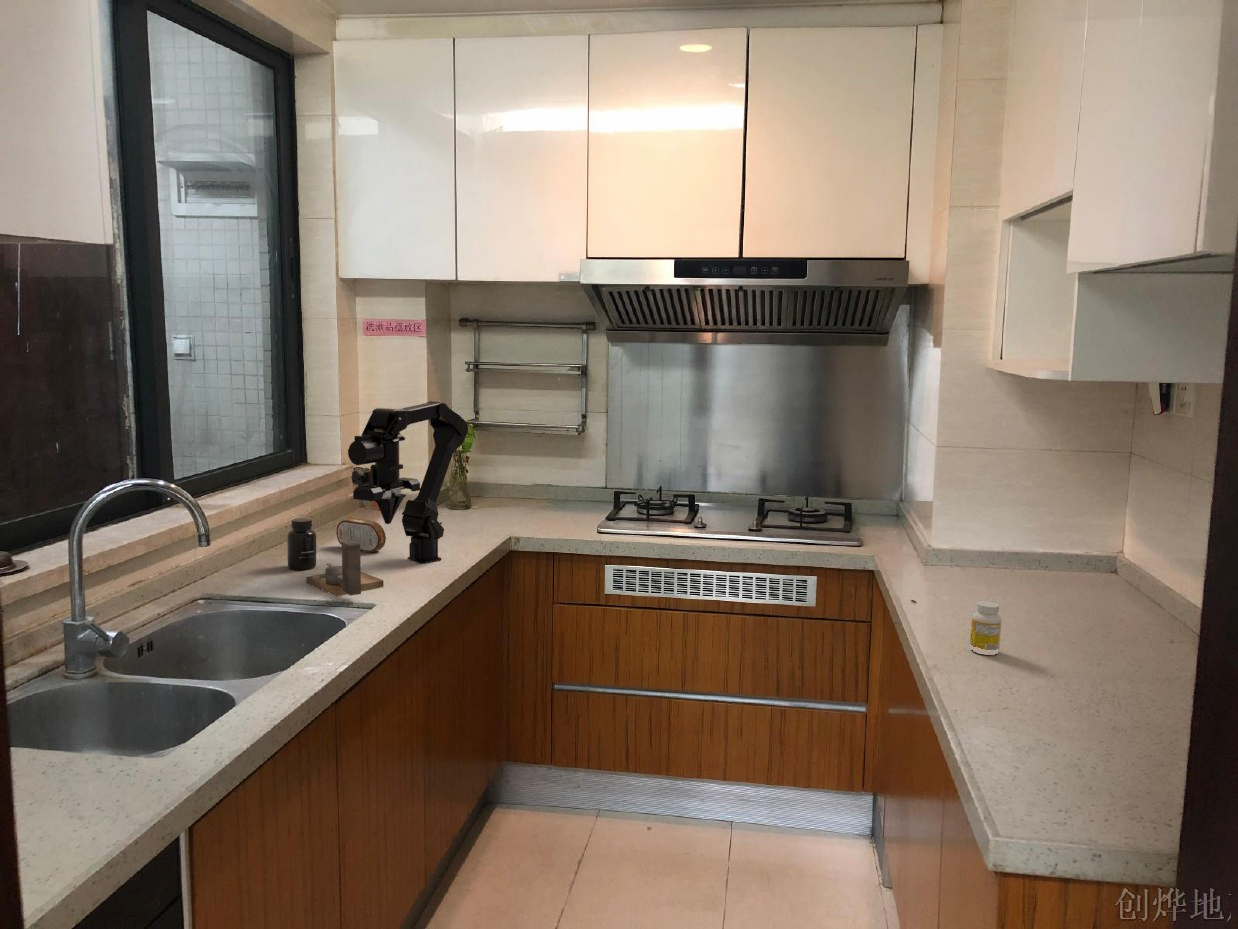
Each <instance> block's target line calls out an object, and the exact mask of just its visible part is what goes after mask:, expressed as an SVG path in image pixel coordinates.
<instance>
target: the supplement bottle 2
mask: <svg viewBox="0 0 1238 929" xmlns="http://www.w3.org/2000/svg"><path fill="white" fill-rule="evenodd" d="M999 612H1000V605H999V604H998V603H996V602H993V601H986V600H983V601H977V602H976V611H975V612H974V613H973V615H972V617H971V626H970V627H971V629H970V641H969V645H970V644H971V645H972V646H973V647H978V648H981V649H985V650H996V649H998V648H999V649H1000V645H1001V644H1000V643H1001V642H1000V641H1001V631H1002V621H1003V620H1002V617H1001V616H1000V615H999Z"/></svg>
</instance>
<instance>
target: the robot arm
mask: <svg viewBox="0 0 1238 929" xmlns="http://www.w3.org/2000/svg"><path fill="white" fill-rule="evenodd" d="M425 421H428V422H429V423H428V424H429V426H430V427H431V428H432V429H433V433H432V438H433V442H434V448H433V452H432V454H431V457H430V460H429V463H428V465H427V468H426V471H425V474H424V476H423V480H422V483H421V481H419V479H418V478H414V477H413V478H411V477H400V470H403V469H404V464H403V463H402V464H401V463H400V442H403V441H405V440H406V437H405V436H404V435H402V434H401V432H402V431H404V430H406V429H407V428H408V426H409V425H413V424H416V423H420V422H425ZM468 432H469V426H468V424H467V422H466V420H465V419H464V418H463V417H462V416H461V415H460V414H459V413H457V412H455V411H454V410H453V409H451V408H450V407H449V406H448V404H446V403H445V402H443V401H432V400H431V401H427V402H426V403H424V402H423V403H420V404H417V405H412V406H411V405H410V406H407V407H401V408H387V407H386V408H384V407H383V408H382V407H381V408H380V407H376V408H374V409H373V410H372V412H371V414H370V417H369V419H368V420H367V422H366V424H365V427H364V429H363V430H362V432H361V435H355V436H354V441H352V442H351V443H350V444H349V447H348V449H347V455H348V459H349V460H350V462H351V463H352V464H353V465H356V466H363V465H368V464H371V465H370V469H369V471H365V472H363V471H362V469H358V470H355V471H351V472H352V473H351V482H352V484H353V485H354V486H355V488H354V489H352V495H353V496H352V499H353V500H359V501H365V502H366V501H367V502H375V503H376V504H377V506H378V508H379V510H380V514H381V515H382V519H383V521H384V524H385V525H390V524H391V523H392V521H393V519H394V517H395V514H397V511H398V510H399V507H400V505H401V503H402V501H403V500H404V498H406V496H407V494H405V493H402V490H405V489H407V490H410V491H411V492H416V491H417V492H418V494H417V496H416V497H415V498H414V499H413V500H412V499H408V500H407V501H406V503H405V507H404V510H403V511H402V513H401V515H402V518H401V523H402V527H403V530H404V534H405V537H410V543H409V547H408V548H409V554H408V555H409V556H408V557H407V560H410V561H412V562H415V563H418V564H427V563H431V562H430V561H433V562H437V561H436V560H438V561H441V560H442V557H441V556H440V557H439V540H440V539H441V538H443V537H444V532H445V528H444V526H443V525H442V524H441V523H440V521H439V520H438V518H439V509H438V505H437V501H438V498H439V497H440V496H439V495H440V493H441V489H442V486H443V483H444V480H445V477H446V475H447V472H448V469H449V466H450V463H451V460H452V457H453V455H454V452H456V451H457V450H458V449H459V448H460V447H461V446H462V445H463V444H464V442H465V439H466V437H467V435H468ZM356 485H357V486H356ZM426 562H427V563H426Z"/></svg>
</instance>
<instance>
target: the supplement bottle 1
mask: <svg viewBox="0 0 1238 929" xmlns="http://www.w3.org/2000/svg"><path fill="white" fill-rule="evenodd" d="M290 525H291V526H290V527H291V530H289V531H288V533H287V535H286V536H287V538H286V539H287V540H286V542H287V544H286V545H287V551H286V553H287V568H288V569H290V570H292V571H307V570H312V569H314V568H315V567H316V566H317V533H316V531H315V530H313V529H312V528H313V520H312V518H308V517H307V518H305V517H304V518H301V517H300V518H293V519H291V524H290Z"/></svg>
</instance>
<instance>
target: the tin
mask: <svg viewBox="0 0 1238 929" xmlns="http://www.w3.org/2000/svg"><path fill="white" fill-rule="evenodd" d="M336 539H337V540H338V543H339V544H340V545H341V546H342V541H350V540H353V541H354V542H356V543H358V544H360V552H363V551H365V552H364V553H375V552H378V551H381V550H382V549H383V548H384V546H385V544H386V542H387V541H386V540H387V537H386V533H385V530H384V528H383V526H382V525H381V524H380V523H378V522H377V521H375V520H370V519H369V520H368V519H363V518H357V517H348V518H347V517H346V518H345V519H342V520H341V521H340V522H339V523H338V524H337V526H336Z"/></svg>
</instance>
